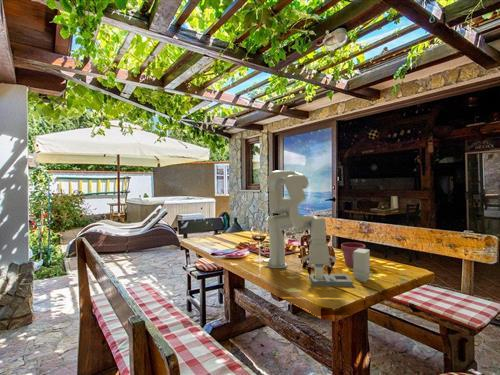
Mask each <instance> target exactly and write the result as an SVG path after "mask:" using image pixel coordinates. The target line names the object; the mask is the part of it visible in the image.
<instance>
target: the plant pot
mask: <svg viewBox="0 0 500 375" xmlns="http://www.w3.org/2000/svg"><path fill="white" fill-rule="evenodd" d="M340 246H341V247H340V250H341V252H342V256H343V259H344V262H345V265H346V266H347V267H350V268H353V251H355V250H357V249H358V248H360V249H366V245H365V244H364V243H360V242H343V243H341V245H340Z"/></svg>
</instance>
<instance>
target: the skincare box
mask: <svg viewBox="0 0 500 375" xmlns="http://www.w3.org/2000/svg"><path fill="white" fill-rule="evenodd" d="M370 256H371V252H370V249H368V248H365V249H360V248H358V249H357V250H355V251H353V267H352V268H353V269H352V270H353V274H352V275H353V279H354V280H356V281H357V282H361V283H362V282H363V283H366V282H367V281H369V279H370V278H371V276H370V273H371V272H370V270H371V269H370V268H371V267H370V266H371V264H370V262H371V261H370V258H371V257H370Z"/></svg>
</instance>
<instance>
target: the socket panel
mask: <svg viewBox="0 0 500 375" xmlns="http://www.w3.org/2000/svg"><path fill="white" fill-rule="evenodd" d="M323 274H324V279H315V273H311V275H309V274H308V279H309V282H310V285H311V287H312V286H313V287H353V286H354V283H353V282H354V281H353V280H352V279H351V277H350V276H349V275H348V273H330V275H328V273H323Z"/></svg>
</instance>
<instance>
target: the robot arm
mask: <svg viewBox="0 0 500 375" xmlns="http://www.w3.org/2000/svg"><path fill="white" fill-rule="evenodd" d="M281 185H284V186H285V189H286V191H287V193H288V196H289V197H284V190H283V188H282V187H281ZM308 187H309V180H308V178H307V176H306V175H304V174H302V173H299V172H297V171H295V170H273V171H271V172H270V173H269V174H268V176H267V188H268V192H269V193H268V194H269V197H268V198H269V211H270V212H271V213H272V214H279V215H272V216H270V217H269V218H268V219H267V222H266V223H267V229H268V236H269V239H268V240H269V258H266V259H265V258H263V259H262V263H265V264H267V265H266V266H267V267H268V268H271V269H284V268H287V267H288V263H287V262H286V252H285V251H286V250H285V249H286V248H285V246H286V245H285V244H286V243H285V242H286V240H285V239H286V238H285V236H284V234H283V232H282V231H285V230H291V229H293V228H294V229H295V230H296V231H299V232H302V231H303V232H304V231H310V238H309V239H307V240H308V241H307V242H308V243H310V244H309V247H308V254H307V255H305V256H303V257H301V260H302V262H303V264H304V266H306V267H307V274H308V276H309V275H311V274H312V272H311V271H312V270H311V266H312V265H314V264H323V265H327V274H328V275H330V274H332V267H333V266H334V264H335V263H336V260H337V258H336V257H335V256H332V255H330V250H329V244H328V243H327V231H326V230H327V229H326V227H327V225H326V222H327V221H326V219H325V218H324V217H320V216H315V215H303V216H301V215H300V212H299V208H298V207H299V205H301V204H303V203H304V202H305V201H306V199H307V196H306V194H305V191H304V190H305V189H307V188H308ZM330 259H331V260H332V261H330ZM306 260H308V262H307V261H306Z"/></svg>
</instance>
